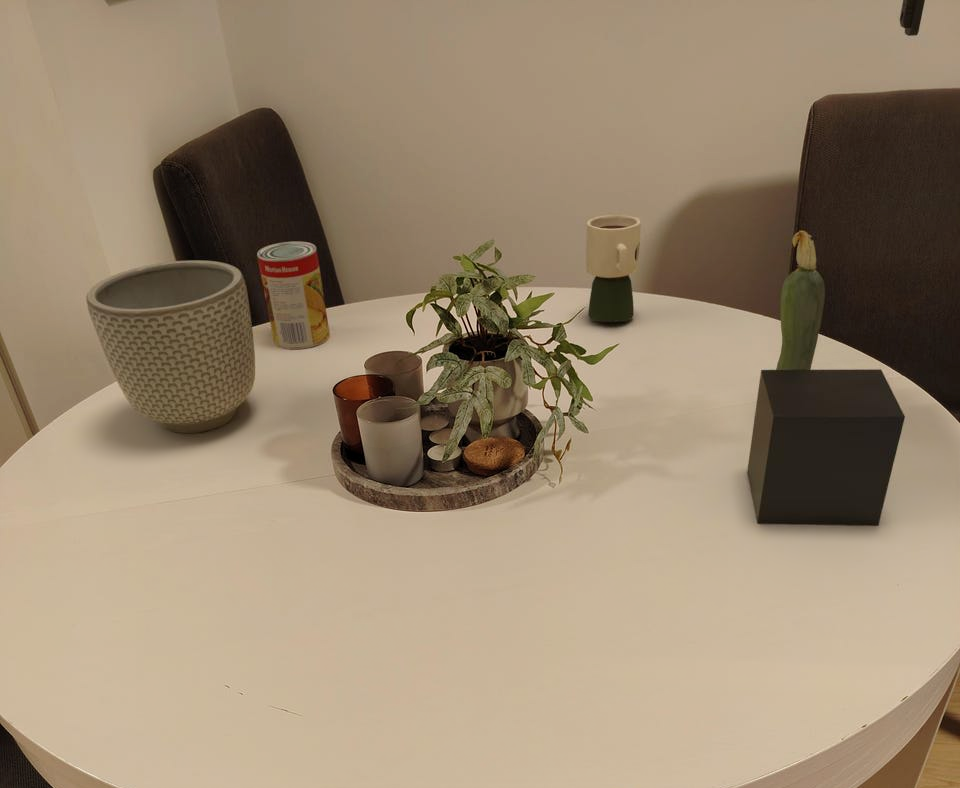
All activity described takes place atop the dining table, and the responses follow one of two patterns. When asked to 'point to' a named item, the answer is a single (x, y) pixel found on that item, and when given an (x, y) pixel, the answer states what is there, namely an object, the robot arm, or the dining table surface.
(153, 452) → the dining table surface
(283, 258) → the canned food
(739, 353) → the dining table surface
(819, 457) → the matte black cube
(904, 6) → the robot arm
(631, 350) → the dining table surface
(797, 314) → the vegetable
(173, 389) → the planter
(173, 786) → the dining table surface
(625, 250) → the character mug
